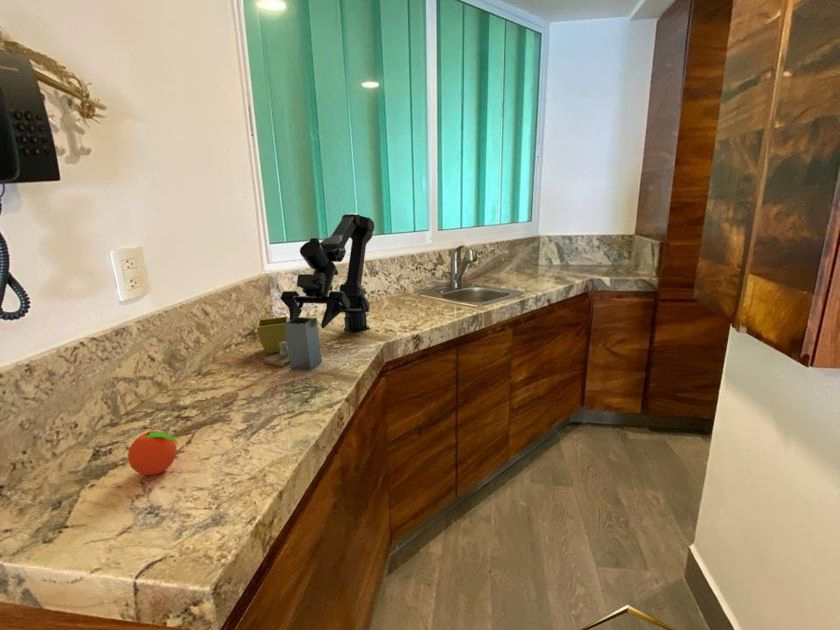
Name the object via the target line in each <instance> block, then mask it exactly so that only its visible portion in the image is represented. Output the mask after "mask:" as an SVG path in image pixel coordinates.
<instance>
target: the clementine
mask: <svg viewBox="0 0 840 630" xmlns="http://www.w3.org/2000/svg"><path fill="white" fill-rule="evenodd" d="M177 445H179V443H178V441H177V440H176V439H175V438H174V437H173V436H171V435H169V434H168V433H166V432H162V431H158V430H152V431H147V432H145V433H142V434H141V435H139V436H138V437H137V438H136V439H135V440H133V442H132V444H131V445H130V447H129V449H128V453H127V460H128V464H129V466H130V467H131V469H133V471H135V472H137V473H138V474H139V475H140V474H141V475H144V476H153V475H158V474H160V473H162V472H164V471H166V470H167V469H169V467H170V466H171V465H172V464H173V462H174V461H175V459H176V456H177V453H178V452H177V449H178V448H177Z"/></svg>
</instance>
